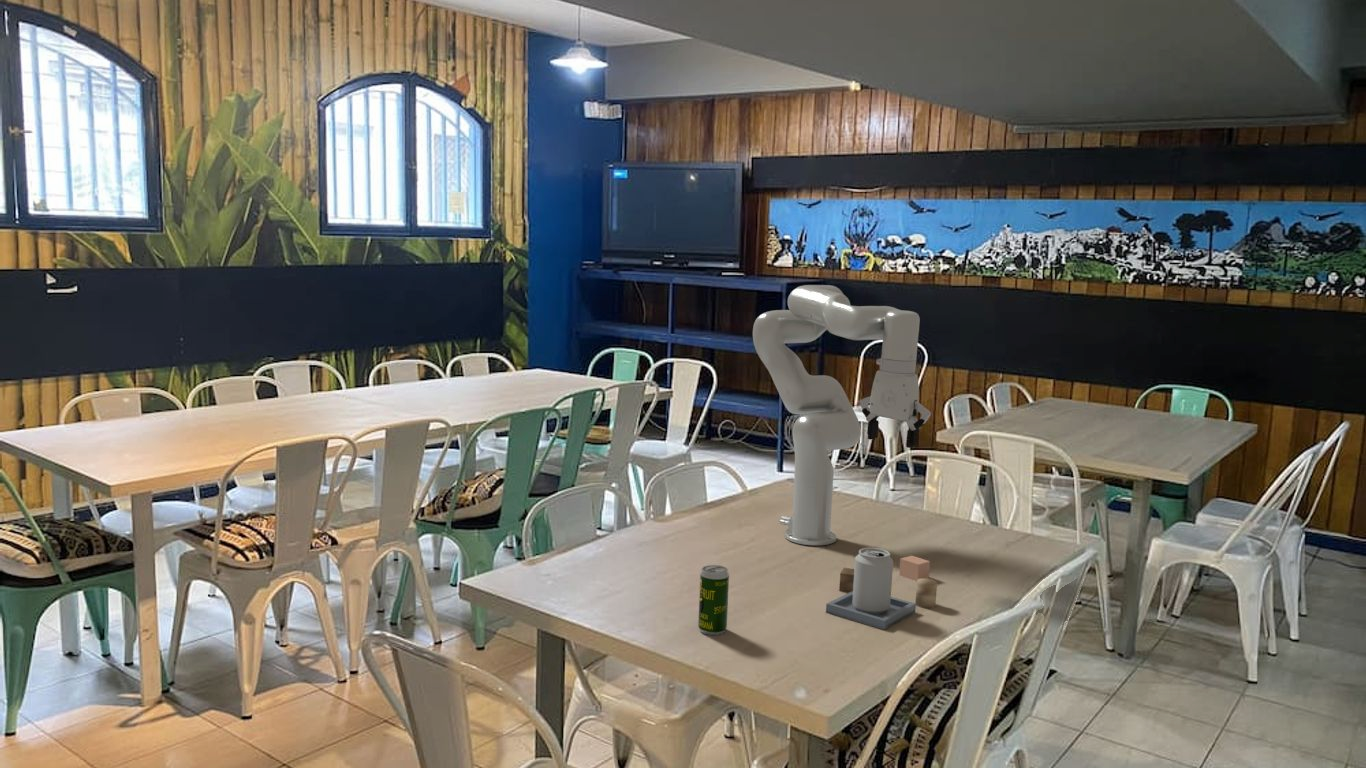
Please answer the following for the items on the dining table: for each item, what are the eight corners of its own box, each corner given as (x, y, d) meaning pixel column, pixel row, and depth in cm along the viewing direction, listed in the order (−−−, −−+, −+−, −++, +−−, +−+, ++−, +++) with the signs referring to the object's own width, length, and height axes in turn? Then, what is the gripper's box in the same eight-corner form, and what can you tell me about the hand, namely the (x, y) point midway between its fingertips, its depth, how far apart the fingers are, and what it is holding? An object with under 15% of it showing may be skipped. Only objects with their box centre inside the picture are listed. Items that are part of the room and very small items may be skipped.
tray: (825, 612, 206) (826, 603, 205) (858, 596, 216) (859, 587, 215) (883, 629, 198) (884, 620, 197) (915, 612, 208) (915, 603, 207)
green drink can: (710, 622, 198) (712, 562, 196) (732, 630, 195) (735, 569, 193) (692, 630, 194) (694, 569, 192) (714, 638, 191) (717, 576, 189)
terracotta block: (899, 575, 230) (900, 558, 230) (910, 572, 233) (911, 555, 232) (917, 582, 226) (918, 564, 226) (928, 578, 229) (929, 561, 228)
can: (889, 617, 202) (893, 558, 201) (851, 613, 204) (854, 555, 202) (890, 604, 210) (893, 547, 208) (852, 600, 211) (856, 544, 209)
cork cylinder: (912, 604, 212) (913, 581, 211) (920, 599, 215) (922, 576, 214) (929, 609, 209) (931, 586, 209) (938, 604, 212) (940, 581, 212)
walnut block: (839, 591, 219) (840, 573, 218) (842, 585, 222) (843, 567, 222) (857, 594, 217) (859, 575, 217) (861, 588, 221) (862, 570, 220)
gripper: (855, 362, 229) (849, 437, 232) (925, 374, 218) (917, 452, 221) (872, 360, 235) (866, 433, 238) (941, 371, 223) (934, 447, 226)
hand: (891, 442), depth 229 cm, fingers open, 9 cm apart
